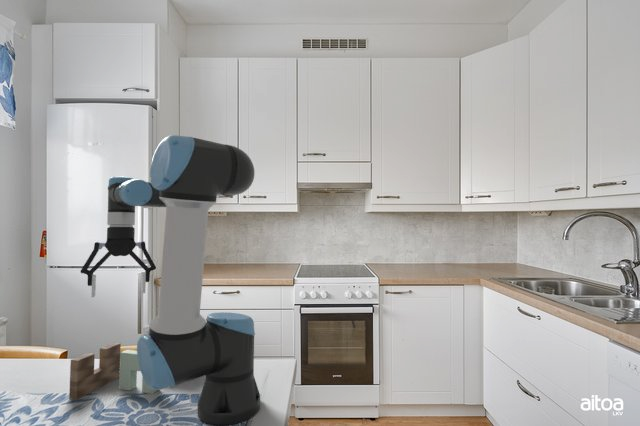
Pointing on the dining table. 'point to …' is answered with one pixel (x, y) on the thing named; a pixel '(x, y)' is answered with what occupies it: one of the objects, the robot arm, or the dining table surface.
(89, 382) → the wooden u-shaped stand
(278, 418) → the dining table surface
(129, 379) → the notched mint block
